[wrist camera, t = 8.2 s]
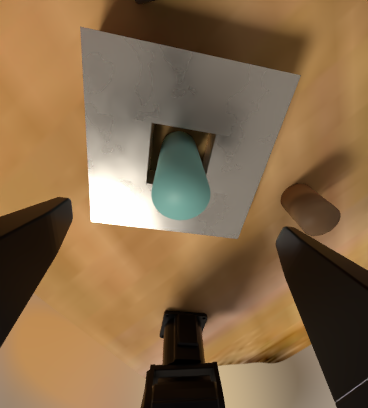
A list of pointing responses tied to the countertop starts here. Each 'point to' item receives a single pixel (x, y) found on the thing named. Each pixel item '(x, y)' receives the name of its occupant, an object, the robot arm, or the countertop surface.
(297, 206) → the short peg
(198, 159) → the long peg
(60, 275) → the countertop surface
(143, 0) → the battery charger
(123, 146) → the socket
